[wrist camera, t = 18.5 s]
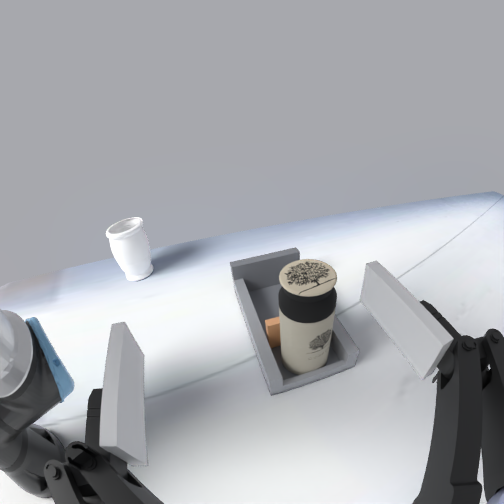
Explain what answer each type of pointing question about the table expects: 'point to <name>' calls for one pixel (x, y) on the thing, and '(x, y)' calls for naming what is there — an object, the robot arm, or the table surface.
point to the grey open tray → (267, 306)
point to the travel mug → (306, 314)
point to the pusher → (273, 332)
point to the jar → (131, 248)
